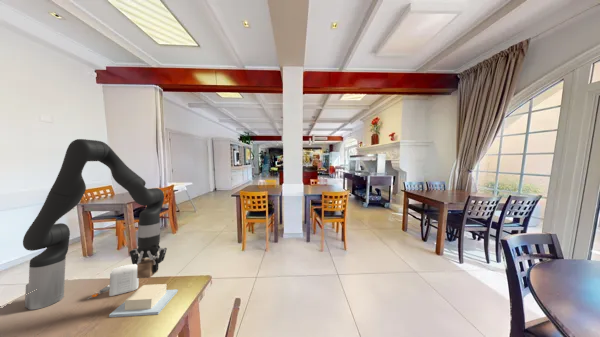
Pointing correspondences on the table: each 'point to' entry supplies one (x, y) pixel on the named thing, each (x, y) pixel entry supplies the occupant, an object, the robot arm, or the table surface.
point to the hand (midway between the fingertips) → (147, 272)
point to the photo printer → (123, 279)
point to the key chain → (101, 291)
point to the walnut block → (145, 269)
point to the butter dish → (145, 301)
